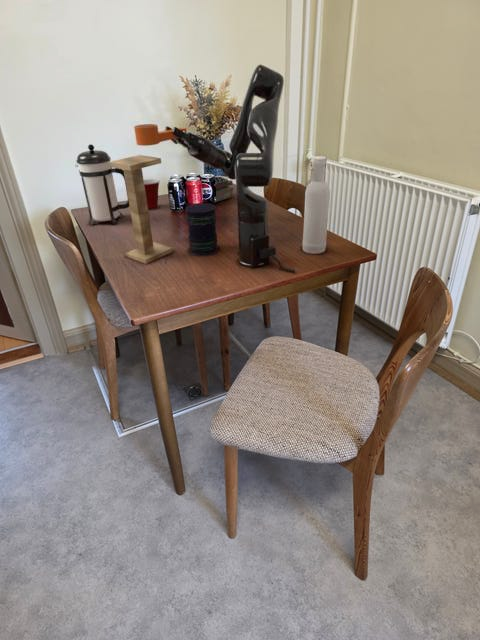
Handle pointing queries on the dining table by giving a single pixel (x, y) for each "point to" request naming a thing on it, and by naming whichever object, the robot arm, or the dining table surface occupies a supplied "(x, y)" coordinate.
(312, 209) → the bottle
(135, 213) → the plant stand
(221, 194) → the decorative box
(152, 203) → the plastic cup
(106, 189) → the coffee press
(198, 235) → the storage jar
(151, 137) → the measuring scoop
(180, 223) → the dining table surface
